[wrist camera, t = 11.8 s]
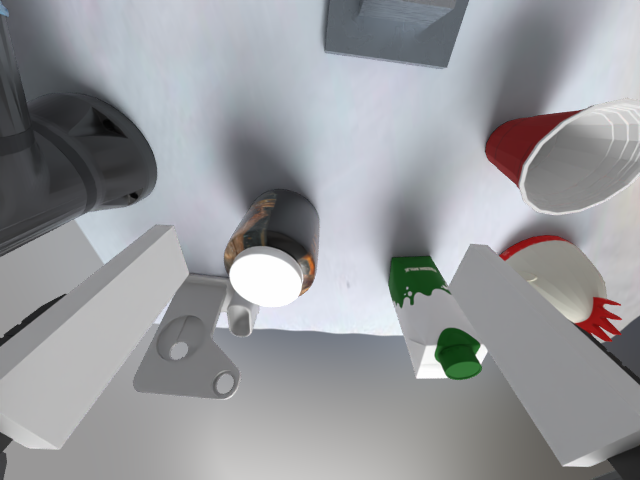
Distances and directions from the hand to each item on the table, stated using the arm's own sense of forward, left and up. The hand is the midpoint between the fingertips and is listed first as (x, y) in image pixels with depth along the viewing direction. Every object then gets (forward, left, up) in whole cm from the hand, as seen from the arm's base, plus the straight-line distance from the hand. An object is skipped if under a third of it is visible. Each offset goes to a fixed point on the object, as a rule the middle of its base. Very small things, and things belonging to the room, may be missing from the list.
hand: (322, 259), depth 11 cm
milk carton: (+19, -20, -26) cm, 38 cm away
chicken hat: (+41, -16, -26) cm, 51 cm away
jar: (-5, -12, -26) cm, 29 cm away
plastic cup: (+25, +4, -26) cm, 36 cm away
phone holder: (-19, -32, -26) cm, 45 cm away
